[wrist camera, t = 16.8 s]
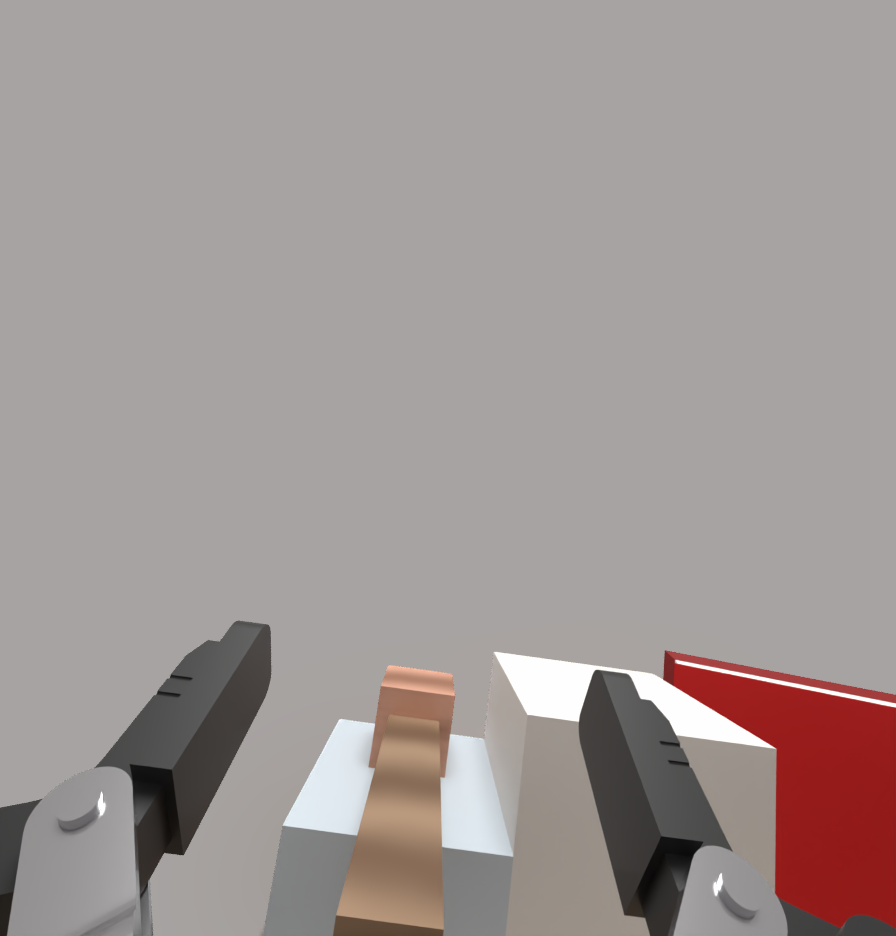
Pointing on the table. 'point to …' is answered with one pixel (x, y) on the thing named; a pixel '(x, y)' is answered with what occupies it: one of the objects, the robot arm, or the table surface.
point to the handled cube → (402, 813)
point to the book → (816, 780)
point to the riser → (519, 811)
